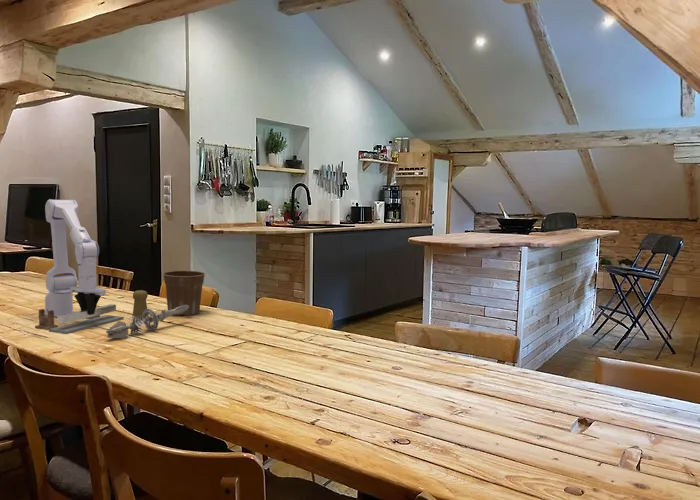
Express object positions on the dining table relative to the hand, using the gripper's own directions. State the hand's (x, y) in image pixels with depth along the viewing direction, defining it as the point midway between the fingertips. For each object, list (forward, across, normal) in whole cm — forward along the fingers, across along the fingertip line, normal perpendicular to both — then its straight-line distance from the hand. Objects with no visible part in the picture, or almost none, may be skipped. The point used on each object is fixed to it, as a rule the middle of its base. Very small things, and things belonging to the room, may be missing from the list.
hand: (88, 313), depth 200 cm
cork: (+4, +10, +15) cm, 19 cm away
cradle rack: (+4, -9, 0) cm, 10 cm away
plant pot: (+4, +17, +32) cm, 36 cm away
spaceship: (+4, +25, +3) cm, 25 cm away
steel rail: (+1, 0, 0) cm, 1 cm away
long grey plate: (+4, 0, 0) cm, 4 cm away
